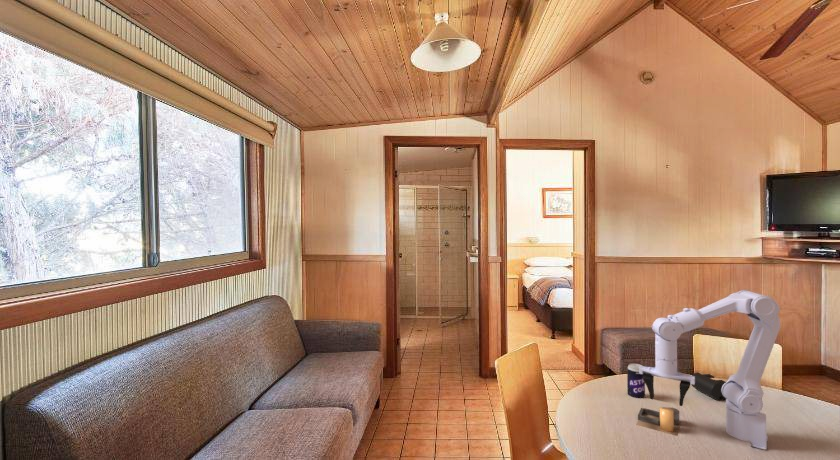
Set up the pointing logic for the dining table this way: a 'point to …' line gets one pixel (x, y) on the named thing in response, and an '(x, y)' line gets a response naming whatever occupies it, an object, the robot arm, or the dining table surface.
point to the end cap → (709, 386)
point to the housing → (656, 420)
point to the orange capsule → (666, 419)
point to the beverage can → (635, 381)
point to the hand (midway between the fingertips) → (666, 401)
